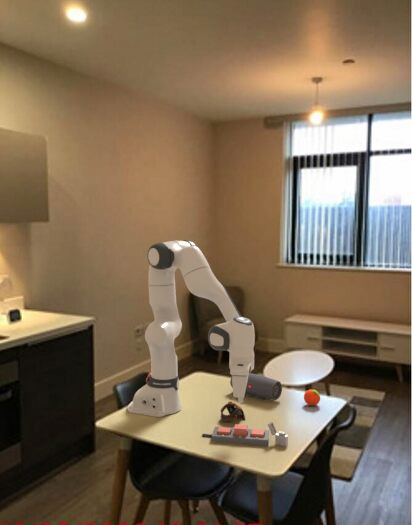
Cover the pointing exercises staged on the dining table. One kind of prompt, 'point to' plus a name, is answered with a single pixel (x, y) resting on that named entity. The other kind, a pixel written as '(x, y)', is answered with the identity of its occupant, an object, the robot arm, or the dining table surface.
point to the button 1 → (224, 431)
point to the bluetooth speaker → (262, 387)
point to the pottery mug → (232, 412)
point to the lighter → (278, 435)
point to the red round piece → (311, 397)
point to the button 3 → (257, 433)
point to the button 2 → (240, 430)
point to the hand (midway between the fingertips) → (241, 401)
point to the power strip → (239, 438)
